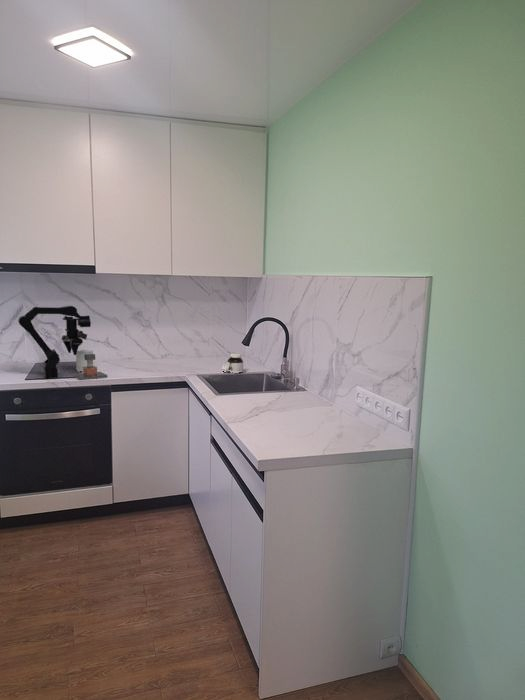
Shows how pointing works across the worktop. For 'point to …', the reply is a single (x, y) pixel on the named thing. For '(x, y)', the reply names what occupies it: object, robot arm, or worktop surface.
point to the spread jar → (233, 363)
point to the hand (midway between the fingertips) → (72, 353)
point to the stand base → (89, 374)
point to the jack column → (89, 359)
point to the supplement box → (82, 359)
